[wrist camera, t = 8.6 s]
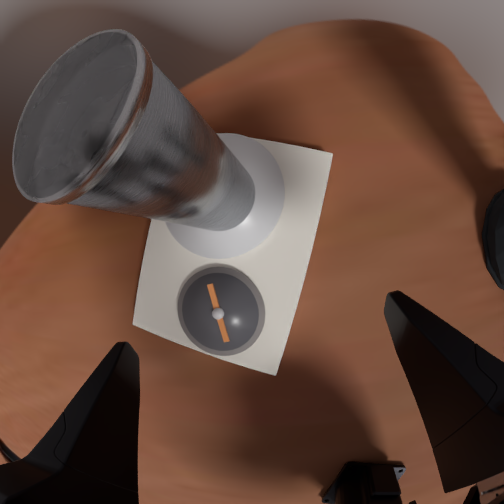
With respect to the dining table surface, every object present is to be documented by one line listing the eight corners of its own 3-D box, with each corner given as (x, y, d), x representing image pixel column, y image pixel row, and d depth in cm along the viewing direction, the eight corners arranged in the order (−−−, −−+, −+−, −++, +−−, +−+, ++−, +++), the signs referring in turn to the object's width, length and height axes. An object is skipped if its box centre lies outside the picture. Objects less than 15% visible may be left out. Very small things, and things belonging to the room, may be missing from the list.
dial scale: (277, 369, 20) (274, 379, 18) (140, 321, 22) (128, 326, 20) (331, 159, 19) (333, 150, 17) (182, 134, 21) (173, 126, 20)
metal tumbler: (225, 248, 19) (54, 244, 5) (171, 205, 20) (0, 154, 6) (272, 185, 18) (184, 46, 5) (213, 146, 19) (84, 23, 5)
